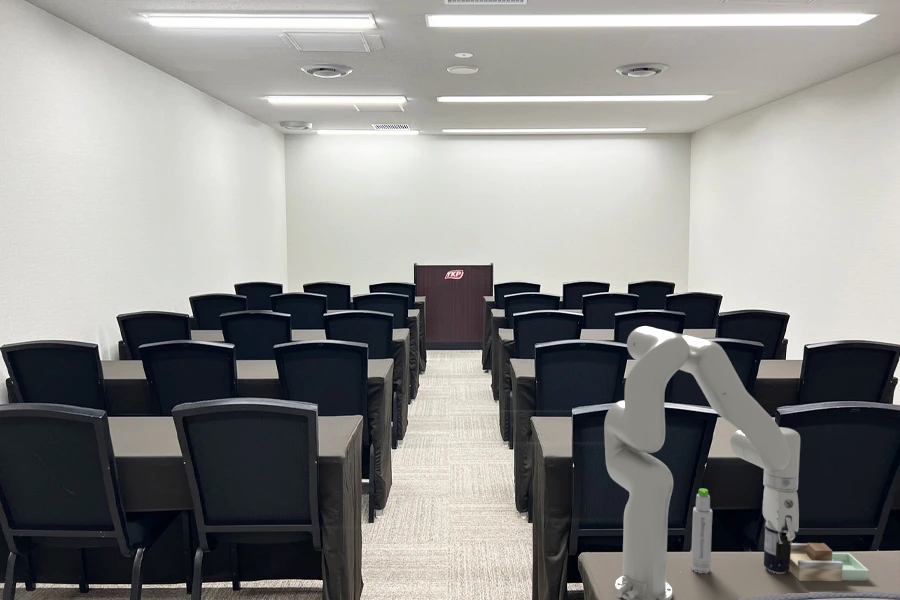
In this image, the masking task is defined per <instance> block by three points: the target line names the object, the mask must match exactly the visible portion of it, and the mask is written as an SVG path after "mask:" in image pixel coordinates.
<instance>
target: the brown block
mask: <svg viewBox="0 0 900 600" xmlns="http://www.w3.org/2000/svg"><path fill="white" fill-rule="evenodd" d="M832 553H833V550H832V549H831V548H830V547H829V546H828V545H827V544H826V543H824V542H820V543H819V542H807V556H808V557H809V558H810V559H811V560H812V561H832Z"/></svg>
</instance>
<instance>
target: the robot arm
mask: <svg viewBox="0 0 900 600" xmlns="http://www.w3.org/2000/svg"><path fill="white" fill-rule="evenodd" d="M626 348H627V351H628V353H629V355H630V356H631V357H632V358H633V359H634V360H636V361H637V362H636V363H635V364H634V365H633V367H632V368H631V370H630V371H629V373H628V374H627V377H626V379H625V382H624V383H625V384H624V400H619V401H617V402H615V403H614V404H613V405H611V406H610V408H609V409H608V411H607V412H606V415H605V417H604V418H605V419H604V424H603V425H604V426H603V427H604V428H603V429H604V432H603V433H604V454H605V466H606V470H607V472H608V475H609V477H610V478H611V479H612V480H613V481H614V482H615V483H616V484H618V485H619V486H620V487H621V488H624V489H625V490H626V491H627V492H629V493H628V494H629V497H628V501H627V502H626V504H625V508H624V510H623V511H624V512H623V533H622V535H623V538H622V539H623V541H622V542H623V544H622V573H621V574H622V575H621V576H620V577H618V578H617V579H616V580H615V583H614V586H615V587H614V588H615V589H614V595H615V596H616V597H617V598H618V599H619V598H623V600H672V598H673V594H674V592H673V588H672V586H671V585H670V584H669V583H668V582H667V555H668V552H667V551H668V521H669V519H668V517H669V507H670V502H671V496H672V493H673V489H674V478H673V474H672V472H671V470H670V469H669V468H668V466H667V465H666V463H664V462H663V461H661V460H660V459H658V458H656V457H655V456H653V455H652V454H653V453H656V452H658V451H660V450H661V449H662V447H663V446H664V443H665V439H666V418H665V417H666V416H665V415H666V413H665V412H666V411H665V392H666V388H667V384H668V383H669V381H670V379H671V378H672V377H673V376H674V375H675V374H676V372H677V371H679V370H680V371H683V372H685V373H689V374H691V375H692V376H693V377H694V379H695V380H696V383H697V384H698V386H699V387H700V389H701V391H702V393H703V394H704V396H705V398H706V400H707V401H708V403H709V405H710V407H711V409H712V410H713V411H714V412H715V413H717V414H718V415H719V417H721V418H722V419H724V420H725V421H727V422H728V423H730V424H731V425H732V426H733V427H735V428H736V429H737V430H736V431H735V432H733V433H732V434H731V436H730V438H729V448H730V450H731V451H732V453H733V454H734V455H735V456H737V457H738V458H740V459H742V460H744V461H746V462H748V463H751V464H753V465H755V466H757V467H760V468H761V469H763V483H762V484H763V486H764V489H763V497H762V498H763V499H762V515H763V518H764V526H765V525H766V524H767V521H768V522H770V524H772V526H773V527H774V528H775V529H776V530H777V535H778V542H776V558H777V559H782V560H789V559H790V555H791V544H792V543H793V541H794V539H795V538H796V533H798V532H799V525H800V524H799V522H800V521H799V519H800V518H799V517H800V513H799V511H800V509H799V506H800V505H799V496H798V489H799V472H800V453H801V436H800V433H799V432H797V431H796V430H795V429H792V428H790V427H782V426H780V427H779V425H778V424H777V422H776V420H774V419H773V417H772V416H771V415H770V414H769V413H768V412H767V411H766V410H765V409H764V408H763V407H762V405H761V404H760V403H759V402H758V401H757V400H756V399H755V398H754V397H753V396H752V395H751V394H750V393H749V392H748V391H747V389H746V388H745V386H744V384H743V382H742V380H741V378H740V376H739V375H738V373H737V372H736V369H735V368H734V366H733V365H732V361H730V358H729V357H728V355H727V353H726V352H725V350H724V349H723V347H722V346H721V345H720V344H718V343H717V342H715V341H713V340H709V339H706V338H700V337H698V336H692V335H688V334H682V333H677V332H673V331H669V330H665V329H660V328H656V327H652V326H647V325H644V326H639V327H636V328H635V329H634V330H632V331H631V332H630V334H628V338H627V341H626ZM782 527H783V528H786V530H782ZM782 533H787V534H786V536H783V537H782Z"/></svg>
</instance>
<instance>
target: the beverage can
mask: <svg viewBox="0 0 900 600" xmlns="http://www.w3.org/2000/svg"><path fill="white" fill-rule="evenodd" d="M782 530H786V528H783V527H782ZM786 534H787V533H782V537H783V536H786ZM776 542H778V535H777V530H776V529H775V528H774V527H773V526H772V524H770V522H768V521H767V524H766V525H765V524H764V549H763V566H764V567H765V569H766V570H767V569H768V570H769V571H768V570H767V571H768V572H770V571H771V572H770V573H772V572H773V574H775V573H776V575H783V574H786V573H787V572H788V571H790V570H789V568H790V559H789V560H782V559H777V558H776Z"/></svg>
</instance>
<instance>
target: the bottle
mask: <svg viewBox="0 0 900 600" xmlns="http://www.w3.org/2000/svg"><path fill="white" fill-rule="evenodd" d="M712 525H713V510H712V508H711V496H710V494H709V490H708V489H707V488H699V489H698V493H696V498H695V506H694V507H693V510H692V529H691V530H692V531H691V532H692V533H691V560H690V568H691V569H690V570H692V571H693V570H694V571H693V572H694V573H697V572H698V574H702V573H705V574H708V572H709V573H710V572H711V561H712V560H711V557H712V556H711V554H712V533H713V532H712V531H713V529H712V527H713V526H712Z"/></svg>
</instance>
